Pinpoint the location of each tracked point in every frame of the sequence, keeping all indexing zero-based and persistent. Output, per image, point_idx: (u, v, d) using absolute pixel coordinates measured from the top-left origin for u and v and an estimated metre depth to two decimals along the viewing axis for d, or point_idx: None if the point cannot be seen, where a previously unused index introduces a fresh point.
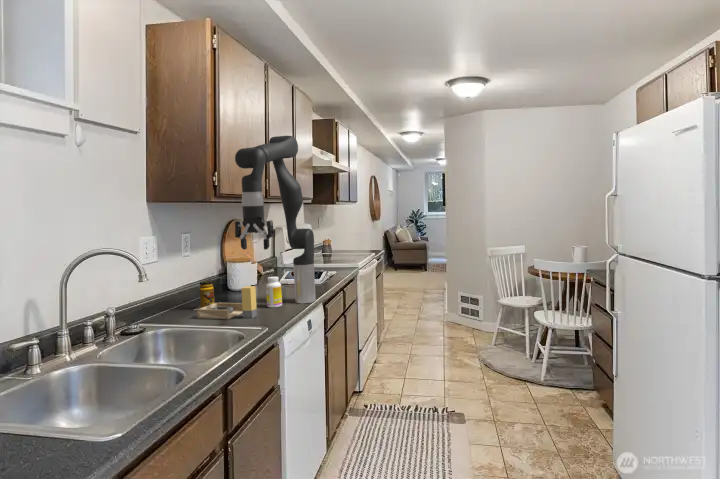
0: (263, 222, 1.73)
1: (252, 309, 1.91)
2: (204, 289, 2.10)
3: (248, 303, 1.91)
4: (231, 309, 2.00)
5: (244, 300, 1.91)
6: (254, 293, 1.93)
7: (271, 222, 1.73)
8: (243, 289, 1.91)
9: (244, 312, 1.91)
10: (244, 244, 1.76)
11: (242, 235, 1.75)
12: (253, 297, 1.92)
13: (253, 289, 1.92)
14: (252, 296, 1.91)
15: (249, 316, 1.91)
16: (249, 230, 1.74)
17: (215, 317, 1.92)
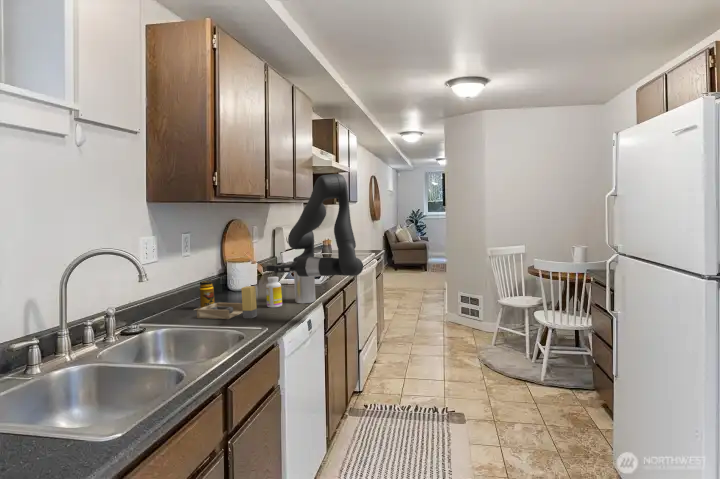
0: None
1: (252, 309, 1.91)
2: (204, 289, 2.10)
3: (248, 303, 1.91)
4: (231, 309, 2.00)
5: (244, 300, 1.91)
6: (254, 293, 1.93)
7: None
8: (243, 289, 1.91)
9: (244, 312, 1.91)
10: None
11: None
12: (253, 297, 1.92)
13: (253, 289, 1.92)
14: (252, 296, 1.91)
15: (249, 316, 1.91)
16: None
17: (215, 317, 1.92)
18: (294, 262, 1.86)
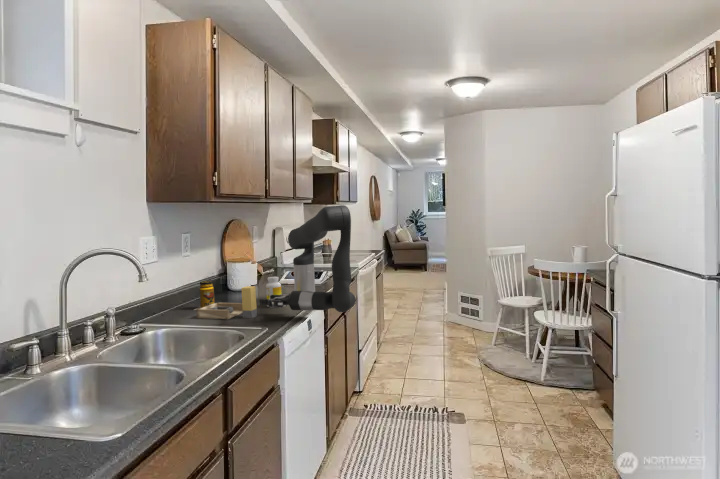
0: None
1: (252, 309, 1.91)
2: (204, 289, 2.10)
3: (248, 303, 1.91)
4: (231, 309, 2.00)
5: (244, 300, 1.91)
6: (254, 293, 1.93)
7: None
8: (243, 289, 1.91)
9: (244, 312, 1.91)
10: None
11: None
12: (253, 297, 1.92)
13: (253, 289, 1.92)
14: (252, 296, 1.91)
15: (249, 316, 1.91)
16: None
17: (215, 317, 1.92)
18: (287, 295, 1.89)
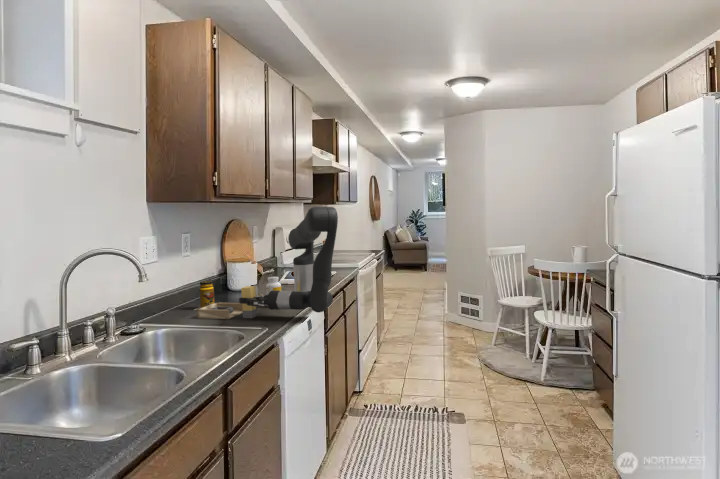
0: None
1: (252, 309, 1.91)
2: (204, 289, 2.10)
3: None
4: (231, 309, 2.00)
5: None
6: (254, 293, 1.93)
7: None
8: (243, 289, 1.91)
9: (244, 312, 1.91)
10: None
11: None
12: None
13: (253, 289, 1.92)
14: (252, 296, 1.91)
15: (249, 316, 1.91)
16: None
17: (215, 317, 1.92)
18: (267, 295, 1.91)
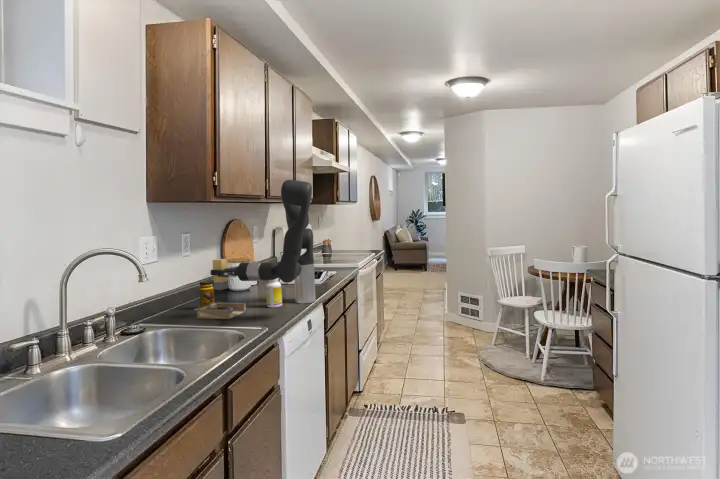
0: None
1: (223, 281, 1.95)
2: (204, 289, 2.10)
3: None
4: (231, 309, 2.00)
5: None
6: (225, 265, 1.97)
7: None
8: (214, 261, 1.95)
9: (215, 284, 1.96)
10: None
11: None
12: None
13: (224, 261, 1.96)
14: (223, 268, 1.96)
15: (220, 287, 1.95)
16: None
17: (215, 317, 1.92)
18: (237, 267, 1.96)
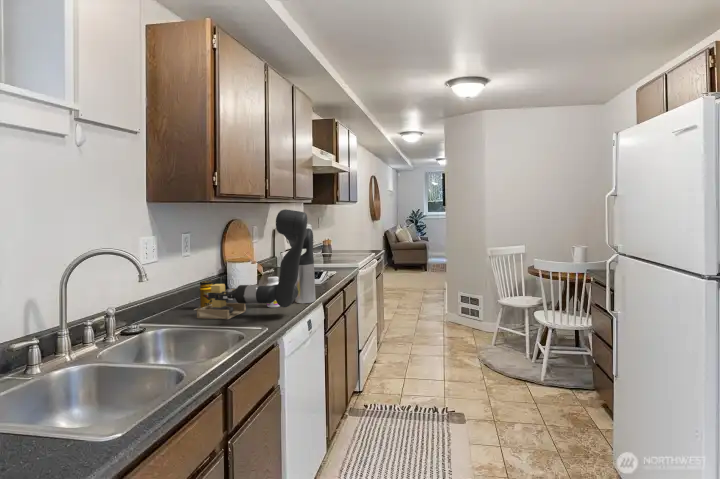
0: None
1: (221, 306, 1.97)
2: (204, 289, 2.10)
3: (217, 300, 1.97)
4: (231, 309, 2.00)
5: None
6: (223, 290, 1.99)
7: None
8: (212, 286, 1.97)
9: (214, 309, 1.97)
10: None
11: None
12: None
13: (222, 286, 1.98)
14: None
15: None
16: None
17: (215, 317, 1.92)
18: (235, 289, 1.97)
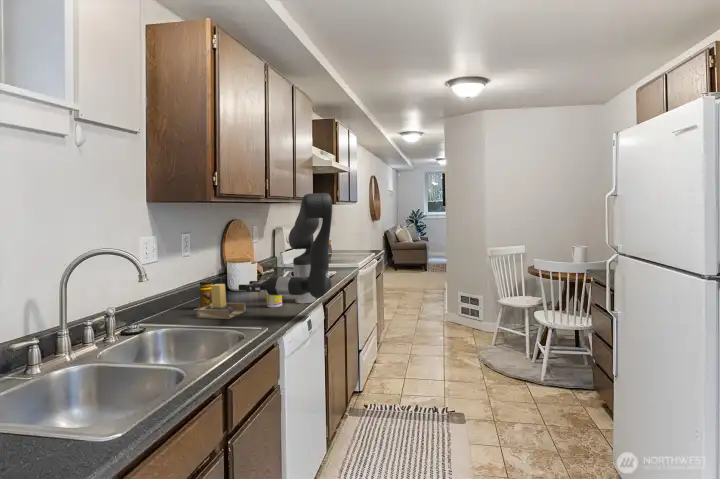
0: None
1: (221, 306, 1.97)
2: (204, 289, 2.10)
3: (217, 300, 1.97)
4: (231, 309, 2.00)
5: (214, 297, 1.97)
6: (224, 290, 1.99)
7: None
8: (213, 286, 1.97)
9: (214, 309, 1.97)
10: None
11: None
12: (222, 294, 1.98)
13: (222, 286, 1.98)
14: (221, 293, 1.97)
15: None
16: None
17: (215, 317, 1.92)
18: (265, 281, 1.93)
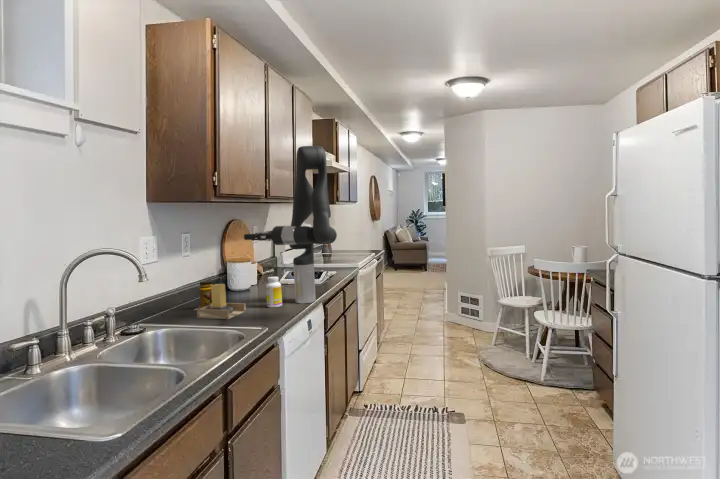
0: None
1: (221, 306, 1.97)
2: (204, 289, 2.10)
3: (217, 300, 1.97)
4: (231, 309, 2.00)
5: (214, 297, 1.97)
6: (224, 290, 1.99)
7: None
8: (213, 286, 1.97)
9: (214, 309, 1.97)
10: None
11: (256, 239, 1.91)
12: (222, 294, 1.98)
13: (222, 286, 1.98)
14: (221, 293, 1.97)
15: None
16: None
17: (215, 317, 1.92)
18: (271, 231, 1.94)
